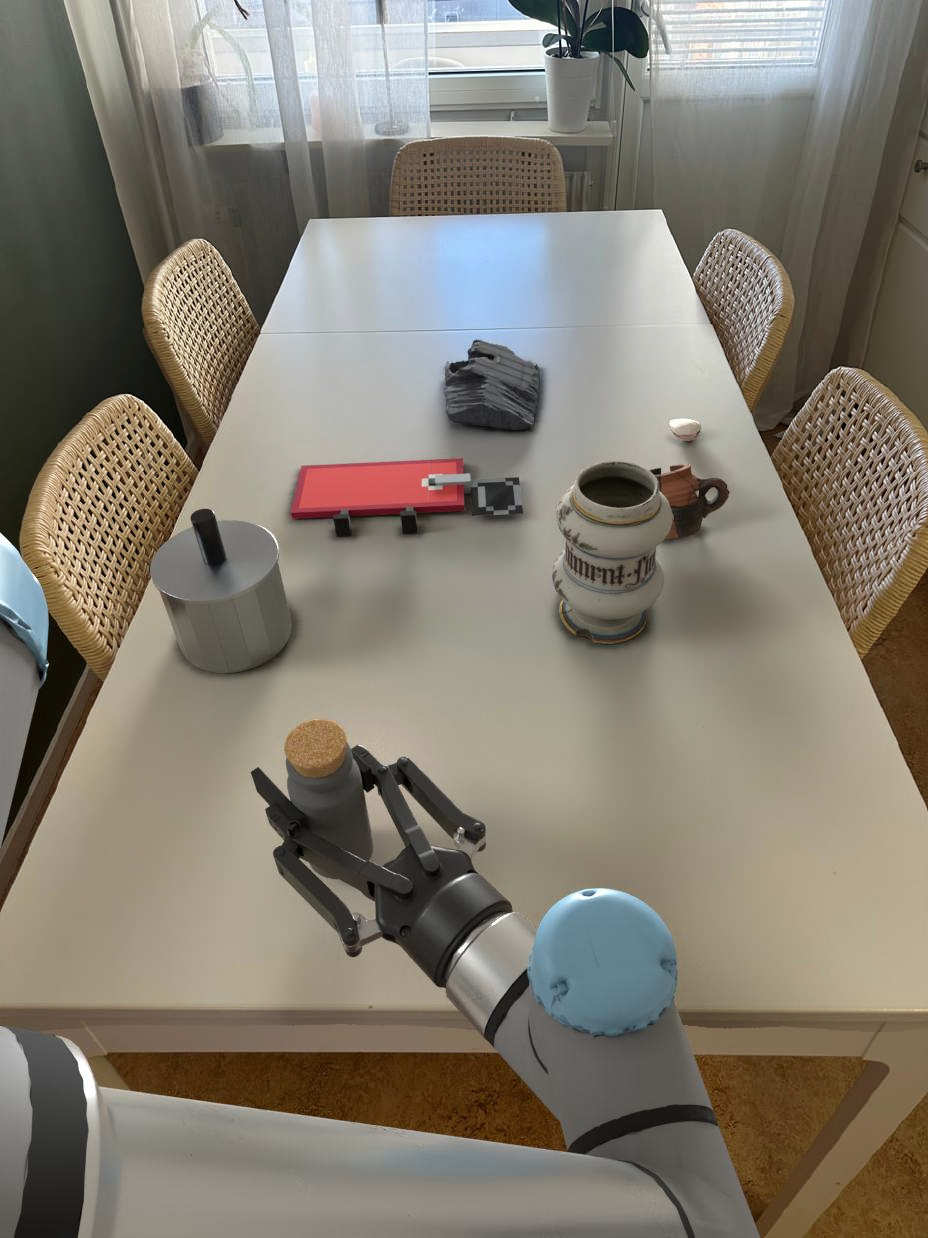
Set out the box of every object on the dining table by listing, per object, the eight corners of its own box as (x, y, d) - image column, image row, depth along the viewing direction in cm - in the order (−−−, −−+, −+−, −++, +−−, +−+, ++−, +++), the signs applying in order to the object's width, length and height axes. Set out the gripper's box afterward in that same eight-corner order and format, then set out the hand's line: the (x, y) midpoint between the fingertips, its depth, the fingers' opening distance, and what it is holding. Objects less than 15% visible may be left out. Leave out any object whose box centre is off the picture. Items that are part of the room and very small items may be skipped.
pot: (164, 669, 94) (136, 597, 87) (202, 593, 103) (180, 522, 96) (274, 677, 93) (255, 605, 86) (304, 599, 102) (289, 528, 94)
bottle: (374, 819, 78) (355, 710, 68) (373, 878, 74) (352, 771, 63) (309, 823, 78) (279, 715, 67) (304, 882, 73) (272, 776, 63)
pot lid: (132, 604, 87) (112, 553, 83) (179, 524, 97) (163, 474, 92) (259, 612, 86) (245, 561, 81) (294, 530, 95) (284, 480, 91)
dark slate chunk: (431, 433, 128) (430, 404, 124) (447, 362, 144) (446, 335, 140) (536, 435, 126) (536, 406, 123) (540, 364, 142) (541, 336, 139)
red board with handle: (524, 528, 110) (516, 464, 121) (524, 509, 108) (516, 446, 119) (288, 538, 110) (303, 474, 121) (284, 520, 108) (299, 456, 120)
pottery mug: (638, 547, 108) (626, 482, 106) (637, 533, 117) (625, 472, 114) (738, 528, 105) (727, 461, 103) (729, 514, 114) (719, 452, 112)
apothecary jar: (533, 632, 97) (538, 500, 84) (572, 568, 104) (582, 438, 92) (638, 665, 93) (659, 531, 80) (670, 596, 100) (694, 464, 88)
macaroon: (684, 447, 123) (687, 432, 121) (658, 433, 126) (661, 417, 124) (705, 437, 125) (708, 422, 123) (679, 423, 128) (682, 408, 126)
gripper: (379, 1069, 58) (202, 849, 71) (569, 891, 67) (382, 725, 80) (367, 1024, 53) (179, 795, 66) (574, 838, 62) (374, 669, 75)
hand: (291, 757), depth 73 cm, fingers closed on bottle, 6 cm apart
